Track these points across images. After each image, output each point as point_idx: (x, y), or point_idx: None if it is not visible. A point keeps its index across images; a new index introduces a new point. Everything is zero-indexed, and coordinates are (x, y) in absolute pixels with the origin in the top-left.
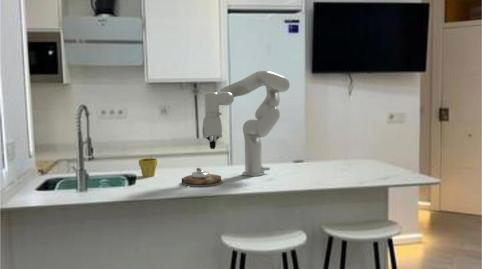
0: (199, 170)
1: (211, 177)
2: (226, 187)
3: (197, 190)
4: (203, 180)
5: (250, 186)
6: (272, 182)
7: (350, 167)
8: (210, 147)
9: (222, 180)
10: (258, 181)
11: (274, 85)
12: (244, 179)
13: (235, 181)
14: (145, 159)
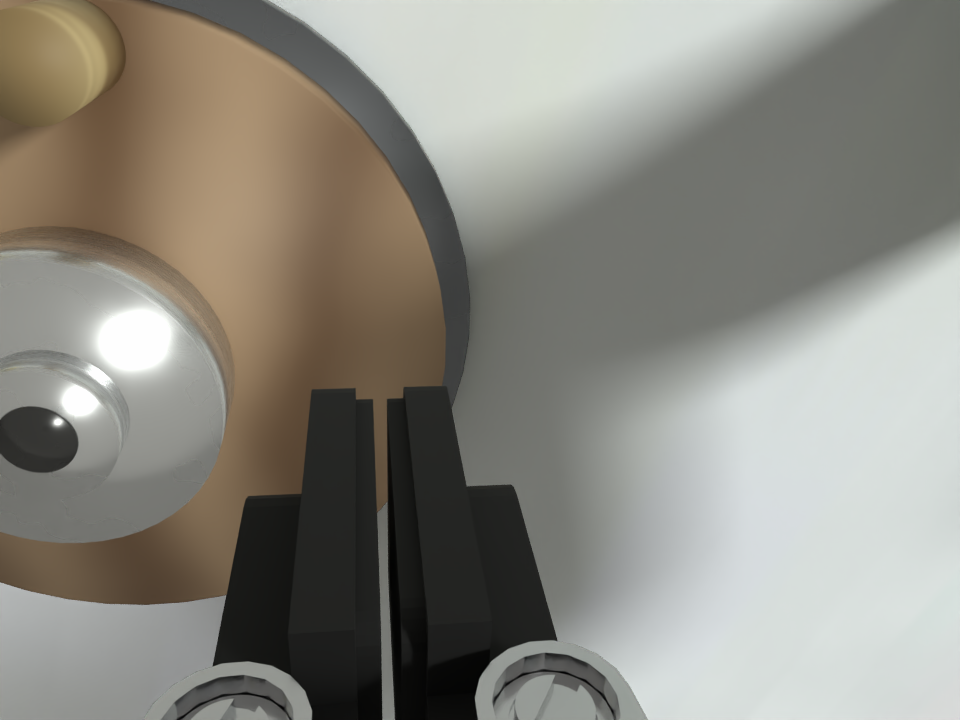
0: (16, 437)
1: (273, 413)
2: (390, 653)
3: (22, 690)
4: (106, 570)
5: (644, 678)
6: (949, 587)
7: None
8: (310, 401)
9: (454, 380)
10: (867, 496)
11: None
12: (803, 322)
13: (629, 399)
14: None
